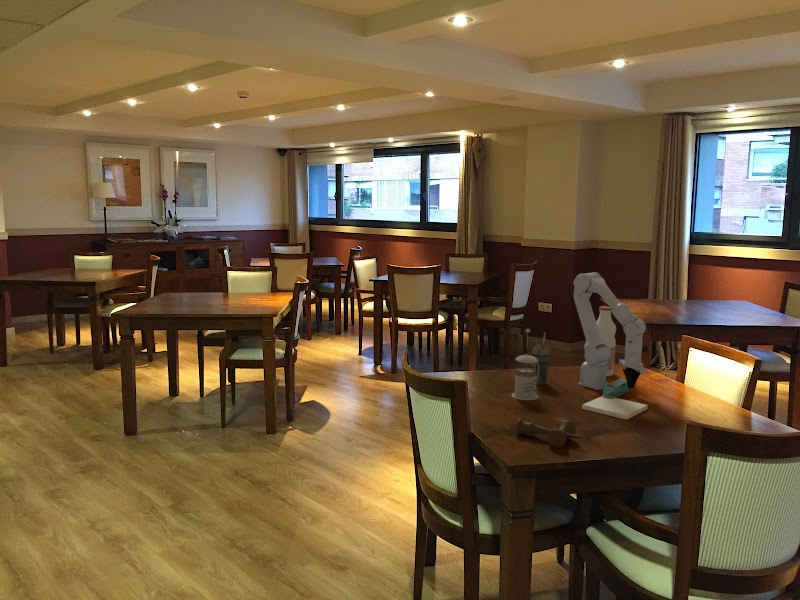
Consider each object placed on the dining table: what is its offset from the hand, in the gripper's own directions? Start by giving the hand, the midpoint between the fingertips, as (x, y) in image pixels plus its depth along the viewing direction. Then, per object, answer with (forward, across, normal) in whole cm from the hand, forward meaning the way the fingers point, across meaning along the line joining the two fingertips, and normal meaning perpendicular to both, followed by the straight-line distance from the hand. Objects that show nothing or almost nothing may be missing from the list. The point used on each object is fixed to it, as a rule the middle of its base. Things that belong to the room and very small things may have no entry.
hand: (630, 388), depth 246 cm
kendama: (+3, -38, +52) cm, 64 cm away
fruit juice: (+3, +30, -6) cm, 31 cm away
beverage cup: (+3, +21, +26) cm, 34 cm away
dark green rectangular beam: (+2, +1, +5) cm, 6 cm away
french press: (+3, +6, +39) cm, 39 cm away
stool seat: (+2, -14, +15) cm, 21 cm away
